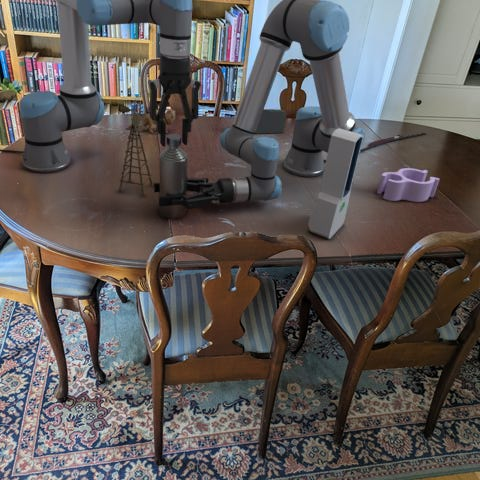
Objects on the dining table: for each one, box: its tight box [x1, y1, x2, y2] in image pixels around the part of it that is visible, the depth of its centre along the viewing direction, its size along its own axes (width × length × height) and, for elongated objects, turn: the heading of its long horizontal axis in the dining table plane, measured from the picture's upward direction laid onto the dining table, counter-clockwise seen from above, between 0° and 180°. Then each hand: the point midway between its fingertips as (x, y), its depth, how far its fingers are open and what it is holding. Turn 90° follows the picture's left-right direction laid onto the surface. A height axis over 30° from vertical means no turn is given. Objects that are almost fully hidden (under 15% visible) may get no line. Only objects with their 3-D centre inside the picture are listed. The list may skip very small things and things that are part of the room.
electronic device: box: [307, 128, 364, 240], centre depth 132 cm, size 12×8×30 cm, turn 148°
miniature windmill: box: [118, 95, 154, 197], centre depth 142 cm, size 9×8×30 cm
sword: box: [368, 134, 409, 147], centre depth 212 cm, size 31×3×1 cm, turn 126°
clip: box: [376, 167, 440, 203], centre depth 164 cm, size 20×12×7 cm, turn 109°
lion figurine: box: [142, 109, 176, 134], centre depth 192 cm, size 15×5×9 cm, turn 110°
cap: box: [166, 133, 182, 147], centre depth 128 cm, size 4×4×2 cm
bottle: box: [158, 146, 189, 219], centre depth 134 cm, size 8×8×23 cm
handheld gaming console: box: [234, 108, 287, 134], centre depth 202 cm, size 23×3×10 cm, turn 108°
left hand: (173, 143), depth 129 cm, fingers open, 5 cm apart
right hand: (156, 194), depth 135 cm, fingers closed on bottle, 8 cm apart
